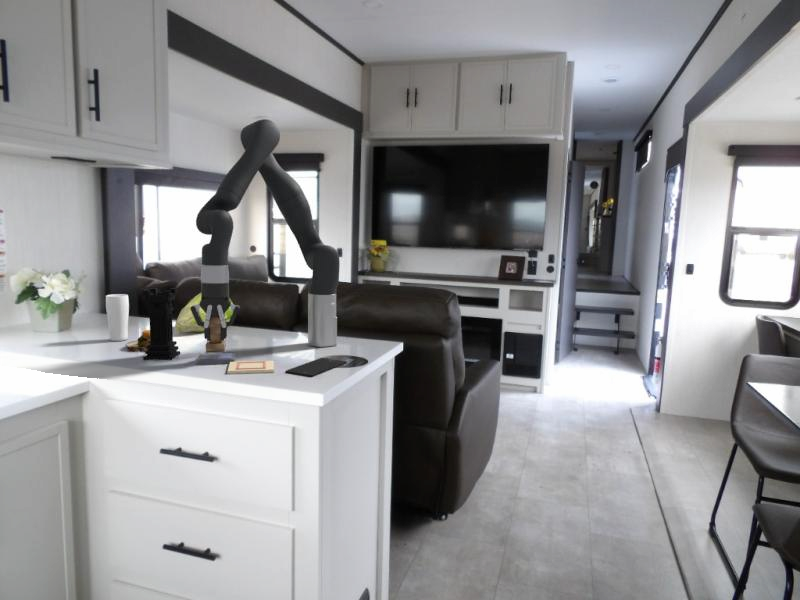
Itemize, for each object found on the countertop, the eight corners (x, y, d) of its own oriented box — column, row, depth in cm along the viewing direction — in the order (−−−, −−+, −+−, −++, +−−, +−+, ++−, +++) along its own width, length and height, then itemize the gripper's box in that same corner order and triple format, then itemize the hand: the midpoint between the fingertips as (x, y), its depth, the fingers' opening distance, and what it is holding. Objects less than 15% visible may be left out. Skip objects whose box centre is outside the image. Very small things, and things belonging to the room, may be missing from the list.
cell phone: (347, 364, 162) (347, 361, 162) (311, 378, 146) (311, 375, 146) (322, 360, 166) (322, 357, 166) (284, 374, 150) (284, 370, 150)
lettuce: (203, 350, 193) (170, 351, 200) (244, 317, 213) (213, 318, 220) (187, 313, 188) (154, 315, 194) (231, 282, 208) (199, 285, 214)
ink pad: (235, 357, 165) (235, 352, 165) (234, 363, 158) (234, 358, 158) (200, 357, 163) (200, 353, 163) (196, 364, 155) (196, 359, 155)
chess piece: (153, 353, 167) (150, 287, 164) (180, 353, 168) (178, 288, 165) (143, 359, 159) (140, 290, 157) (171, 360, 160) (169, 291, 157)
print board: (273, 363, 159) (273, 359, 159) (274, 372, 150) (273, 368, 149) (230, 364, 156) (230, 361, 156) (227, 373, 147) (227, 370, 147)
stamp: (225, 348, 163) (225, 313, 162) (224, 352, 158) (223, 316, 157) (207, 348, 162) (207, 313, 161) (205, 352, 157) (205, 316, 156)
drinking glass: (102, 340, 183) (100, 295, 181) (119, 337, 189) (118, 293, 187) (117, 342, 180) (115, 297, 178) (134, 339, 186) (133, 295, 184)
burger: (153, 343, 183) (152, 320, 182) (174, 348, 176) (173, 325, 175) (117, 349, 173) (116, 325, 172) (138, 354, 166) (137, 330, 165)
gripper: (241, 279, 163) (241, 337, 165) (190, 279, 160) (191, 337, 162) (240, 282, 155) (240, 342, 158) (186, 281, 152) (187, 343, 154)
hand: (215, 339), depth 160 cm, fingers closed on stamp, 3 cm apart
